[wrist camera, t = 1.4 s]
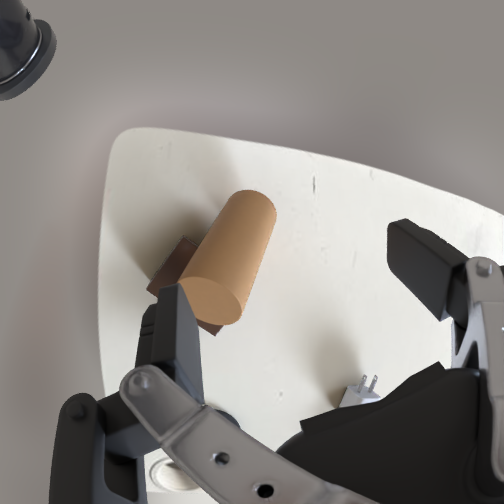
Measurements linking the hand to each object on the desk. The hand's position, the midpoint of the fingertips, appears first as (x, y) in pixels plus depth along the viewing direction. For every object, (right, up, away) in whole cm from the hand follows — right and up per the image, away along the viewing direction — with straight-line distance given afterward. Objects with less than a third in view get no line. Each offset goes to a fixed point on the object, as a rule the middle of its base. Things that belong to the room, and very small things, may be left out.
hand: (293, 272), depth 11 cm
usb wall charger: (+13, -19, +27) cm, 35 cm away
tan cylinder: (-4, +1, +21) cm, 21 cm away
